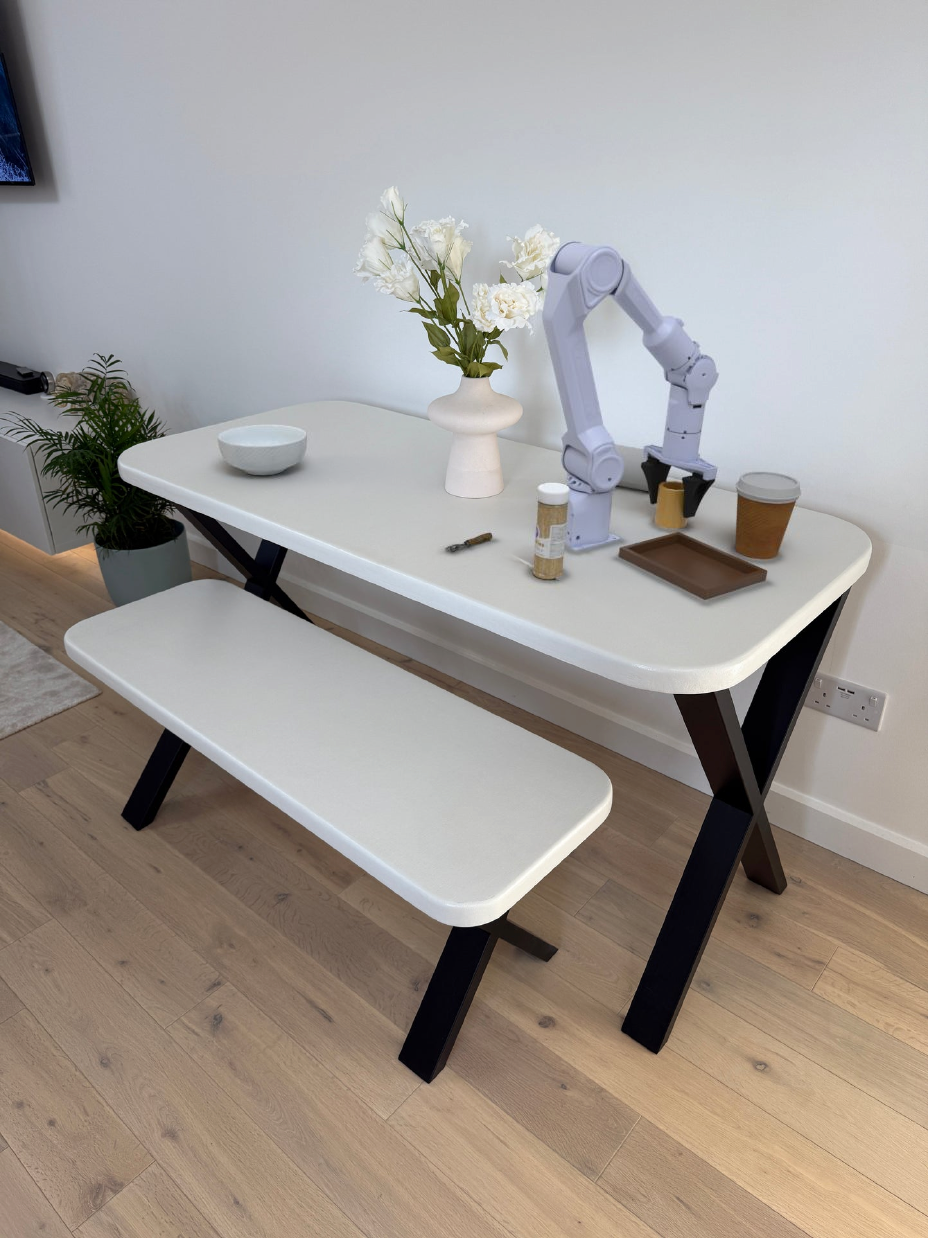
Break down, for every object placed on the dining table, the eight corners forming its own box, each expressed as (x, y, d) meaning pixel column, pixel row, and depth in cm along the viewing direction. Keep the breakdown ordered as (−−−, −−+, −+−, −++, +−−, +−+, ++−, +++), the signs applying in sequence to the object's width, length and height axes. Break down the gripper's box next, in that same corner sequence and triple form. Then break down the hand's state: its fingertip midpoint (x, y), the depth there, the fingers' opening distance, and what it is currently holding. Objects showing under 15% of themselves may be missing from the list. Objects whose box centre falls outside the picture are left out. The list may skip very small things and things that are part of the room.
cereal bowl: (326, 470, 167) (324, 434, 164) (254, 489, 156) (250, 451, 153) (275, 451, 178) (272, 418, 174) (204, 468, 167) (200, 432, 163)
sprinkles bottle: (527, 570, 126) (532, 483, 120) (554, 566, 128) (560, 479, 122) (541, 582, 122) (547, 493, 116) (569, 578, 124) (576, 489, 118)
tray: (704, 603, 117) (706, 590, 116) (618, 559, 130) (619, 547, 129) (765, 583, 124) (767, 570, 123) (676, 543, 137) (678, 531, 136)
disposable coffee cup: (755, 570, 127) (770, 494, 122) (711, 548, 135) (723, 475, 129) (801, 559, 131) (817, 485, 126) (756, 538, 139) (769, 467, 133)
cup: (670, 533, 140) (675, 492, 137) (648, 523, 144) (653, 483, 141) (692, 527, 143) (698, 487, 140) (670, 518, 147) (675, 478, 144)
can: (667, 444, 156) (606, 433, 161) (651, 471, 153) (590, 460, 158) (668, 474, 162) (610, 463, 167) (654, 501, 158) (594, 489, 164)
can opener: (488, 537, 137) (488, 531, 136) (497, 542, 135) (497, 535, 135) (441, 549, 132) (441, 542, 132) (450, 554, 131) (450, 547, 130)
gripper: (735, 436, 132) (721, 518, 139) (668, 416, 143) (658, 493, 149) (704, 442, 129) (691, 526, 135) (637, 421, 140) (628, 500, 146)
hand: (672, 509), depth 142 cm, fingers open, 7 cm apart
